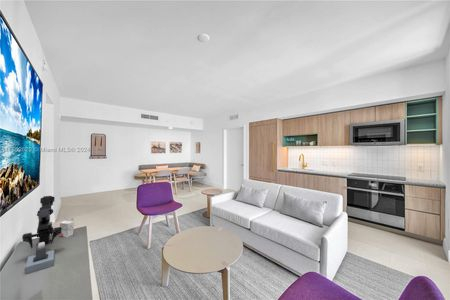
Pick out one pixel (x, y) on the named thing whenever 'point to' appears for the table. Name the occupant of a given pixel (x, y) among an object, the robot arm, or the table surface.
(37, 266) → the socket block
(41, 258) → the plug
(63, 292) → the table surface
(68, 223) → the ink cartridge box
